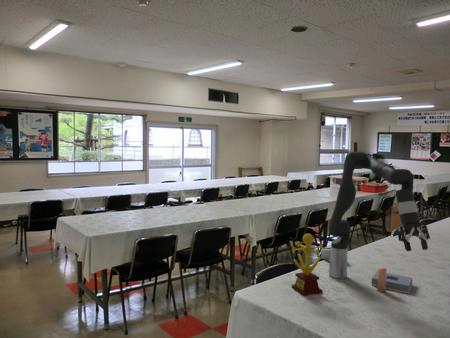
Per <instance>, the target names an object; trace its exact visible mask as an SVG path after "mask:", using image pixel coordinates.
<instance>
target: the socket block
mask: <svg viewBox="0 0 450 338" xmlns="http://www.w3.org/2000/svg"><path fill="white" fill-rule="evenodd" d="M371 286H373V287H378V270H377V271H376V273H374V275H373V276H372V278H371ZM412 287H413V277H410V276H403V275H399V274H393V273H389V272H386V290H391V291H396V292H401V293H405V294H410V291H411V290H412V289H411V288H412Z"/></svg>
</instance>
